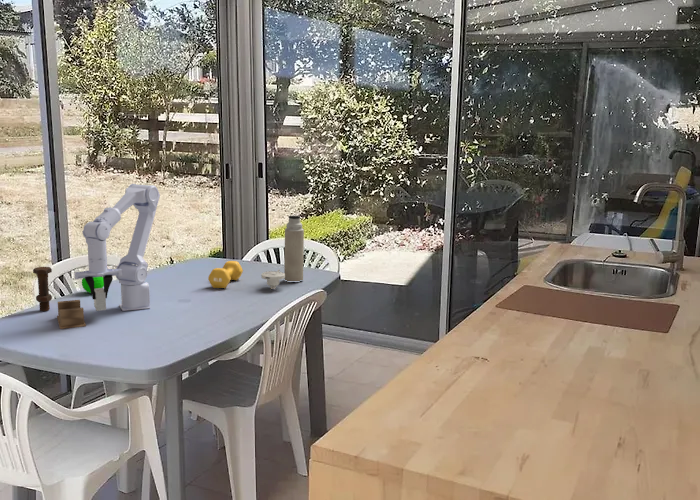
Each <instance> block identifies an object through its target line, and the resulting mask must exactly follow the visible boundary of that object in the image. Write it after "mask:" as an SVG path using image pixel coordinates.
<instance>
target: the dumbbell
mask: <svg viewBox="0 0 700 500" xmlns="http://www.w3.org/2000/svg"><path fill="white" fill-rule="evenodd" d="M243 272H244V270H243V267H242V265H241V264H240V263H239V261H237V260H227V261H226V262H225V263H224V264H223V266H222V267H216V268H215V267H214V269H212V270H211V272H210V273H209V275H208V277H207V279H208V282H209V284H210V286H211V287H212V288H213V289H215V288H224V289H226V288H227V287H228V285H229V284H230V282H231V281H230V280H236V281H238V280H239V279H240V278H241V276H242V274H243Z"/></svg>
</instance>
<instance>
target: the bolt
mask: <svg viewBox="0 0 700 500" xmlns="http://www.w3.org/2000/svg"><path fill="white" fill-rule="evenodd" d="M52 271H53V270H52V267H50V266H38V267H34V268H33V269H32V274H35V275H36V277H37V287H38V295H36V296H35V300H36V302H37V303H38V304H39V311H41V312H49V310H50V309H51V308H50V301H52V300H53V296H52V295H51V294H50V290H49V274H51V273H52Z"/></svg>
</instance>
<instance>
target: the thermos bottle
mask: <svg viewBox="0 0 700 500" xmlns="http://www.w3.org/2000/svg"><path fill="white" fill-rule="evenodd" d="M285 227H286V228H284V264H283V265H284V267H283V268H284V270H283V271H284V272H283V273H284V274H285V278H284V279H285V280H287V281H300V280H303V281H304V245H305V244H304V243H305V242H304V241H305V238H304V237H305V234H304V233H305V229H304V228H303V223H302V222H301V216H300V215H295V214H294V215H288V221H287V223H286V226H285Z"/></svg>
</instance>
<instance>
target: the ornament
mask: <svg viewBox="0 0 700 500" xmlns="http://www.w3.org/2000/svg"><path fill="white" fill-rule="evenodd" d="M93 278H94V289H96V288H103V289H104V282H103V277H93ZM81 286H82V289H83V290H84V291H85V292H87V293H89V294H91V290H90V288H89V286H88V284H87V282H86V280H85V278H81Z"/></svg>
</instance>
